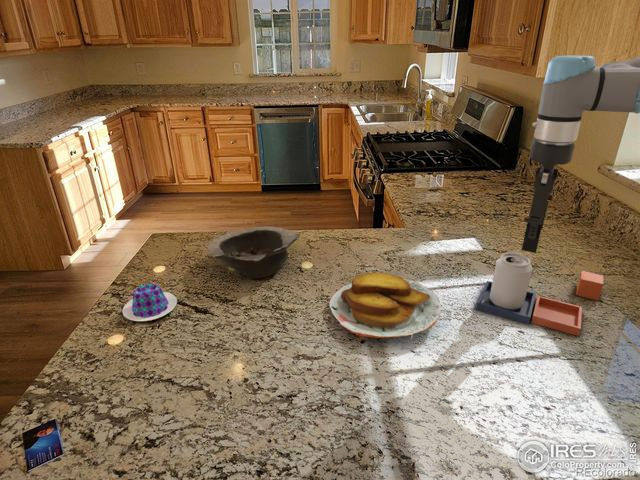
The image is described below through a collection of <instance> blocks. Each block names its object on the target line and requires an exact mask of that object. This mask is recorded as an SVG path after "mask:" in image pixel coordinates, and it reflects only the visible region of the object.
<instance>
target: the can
mask: <svg viewBox="0 0 640 480" xmlns="http://www.w3.org/2000/svg"><path fill="white" fill-rule="evenodd" d="M532 272H533V266H532V264H531V259H530V258H529V257H527V256H526V255H524V254H521V253H517V252H504V253H502V254H501V255H500V257H499V258H497V260H496V262H495V268H494V272H493V277H492V281H491V282H492V287H491V292H490V300H491V301H492V302H493V303H494V304H495V305H496V306H497V307H499V308H503V309H506V310H516V309H519V308H521V307H522V306H523V305H524V302H525V297H526V293H527V291H528V289H529V284H530V281H531V276H532Z"/></svg>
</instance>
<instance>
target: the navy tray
mask: <svg viewBox="0 0 640 480" xmlns="http://www.w3.org/2000/svg"><path fill="white" fill-rule="evenodd" d="M492 282H493V281H490V280H486V282H485V284H484V287H483V289H482V291H481V294H480V295H479V298H478V300H477V302H476V307H475V310H476V311H479V312H483V313H487V314H490V315H494V316H497V317H501V318H505V319H508V320H510V321H514V322H517V323H522V324H525V325H529V324H530V322H531V321H530V320H531V318H532V317H531V316H532V314H533V313H532V312H533V308H534V304H535V301H536V300H535V299H536V295H537V293H536V292H533V291H530V290H527V293H526V297H525V302H524V305H523V306H522V307H521V308H519V309H516V310H506V309H503V308H499V307H497V306H496V305H495V304H494V303H493V302H492V301H491V300H490V292H491V287H492Z"/></svg>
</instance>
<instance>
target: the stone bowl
mask: <svg viewBox="0 0 640 480" xmlns="http://www.w3.org/2000/svg"><path fill="white" fill-rule="evenodd" d="M300 236H301V233H300V232H299V233H297V232H296V233H294V231H293V230H290V229H286V228H282V227H277V226H266V225H264V226H255V227H253V226H252V227H247V228H243V229H238V230H237V229H236V230H233V231H228V232H227V233H225V234H221V235H219V236H216V237H215V238H213V239H212V240H211V241H210V242H209V243H208V244H207V245H206V250H207V252H208V253H209V254H210V255H211V256H212V257H213V258H217V259H221V261H222V262H223V263H224V264H225V265H226V266H227V267H229V268H230V269H233V270H234V271H236V272H237V273H240V274H245V277H246V278H247V280H256V279H262V278H267V277H269V276H271V275H272V274H276V273H278V272H279V271H280V270H282V267H283V264H284V263H286V261H287V259H288V251H287V249H288V248H289V247H291V245H292V244H294V243H295V242H297V240H298V239H299V238H300Z"/></svg>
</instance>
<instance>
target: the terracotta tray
mask: <svg viewBox="0 0 640 480" xmlns="http://www.w3.org/2000/svg"><path fill="white" fill-rule="evenodd" d="M534 304H535V305H534V307H533V308H534V309H533V311H532V312H533V313H532V317H531V321H530V322H531V324H534V325H538V326H542V327H545V328H549V329H553V330H557V331H560V332H563V333H567V334H570V335H574V336H577V337H579V336H580V333H581V330H582V318H583V306H579V305H577V304H572V303H570V302H569V303H568V302H565V301H561V300H556V299H554V298H553V299H552V298H549V297H545V296H541V295H537V297H536V300H535V303H534Z"/></svg>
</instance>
